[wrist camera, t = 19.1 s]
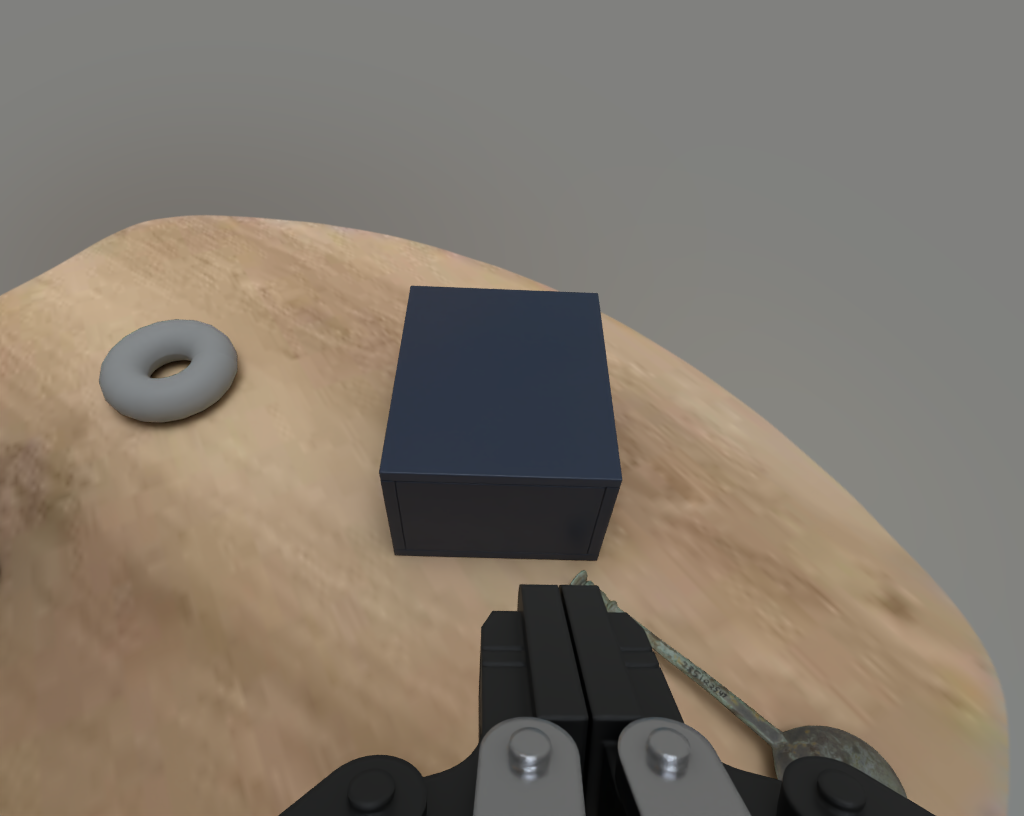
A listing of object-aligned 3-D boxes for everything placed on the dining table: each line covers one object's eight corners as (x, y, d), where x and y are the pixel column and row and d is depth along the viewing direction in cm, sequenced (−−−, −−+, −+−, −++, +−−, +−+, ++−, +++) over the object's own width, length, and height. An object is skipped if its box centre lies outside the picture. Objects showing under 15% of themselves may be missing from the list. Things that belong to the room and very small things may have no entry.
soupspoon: (874, 924, 32) (918, 811, 35) (913, 920, 29) (956, 799, 33) (541, 618, 40) (603, 552, 44) (549, 594, 38) (615, 527, 41)
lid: (411, 293, 47) (410, 285, 46) (596, 301, 47) (598, 292, 47) (380, 480, 36) (378, 472, 35) (620, 488, 36) (622, 480, 36)
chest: (417, 383, 53) (410, 301, 46) (581, 389, 53) (597, 308, 47) (394, 555, 43) (380, 481, 36) (597, 560, 43) (620, 488, 36)
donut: (106, 361, 53) (114, 448, 47) (87, 329, 50) (93, 417, 45) (232, 329, 56) (253, 408, 50) (220, 298, 54) (241, 377, 48)
